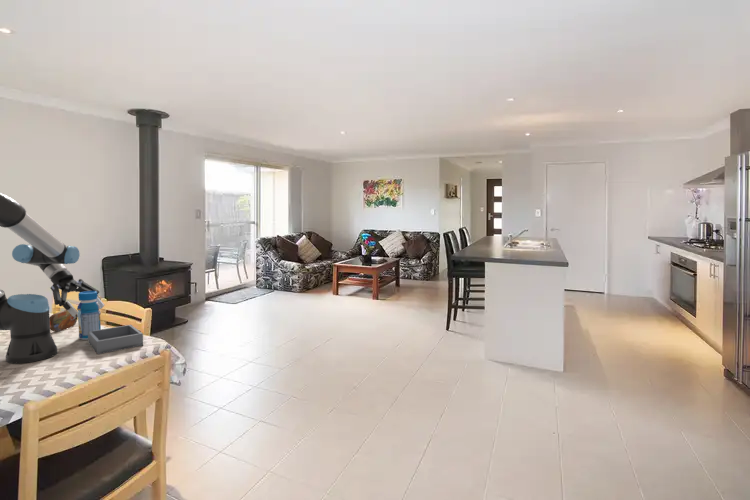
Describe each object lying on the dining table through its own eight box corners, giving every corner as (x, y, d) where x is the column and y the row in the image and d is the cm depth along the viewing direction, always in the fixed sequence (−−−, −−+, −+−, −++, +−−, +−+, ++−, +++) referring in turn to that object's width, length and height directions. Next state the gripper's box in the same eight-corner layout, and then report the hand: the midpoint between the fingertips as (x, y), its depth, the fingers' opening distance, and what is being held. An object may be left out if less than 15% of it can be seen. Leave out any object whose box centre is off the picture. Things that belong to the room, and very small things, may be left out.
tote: (143, 345, 174) (142, 333, 173) (97, 354, 163) (97, 341, 162) (131, 335, 187) (130, 324, 186) (88, 343, 176) (87, 331, 175)
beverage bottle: (90, 341, 179) (87, 294, 177) (73, 339, 181) (70, 293, 179) (106, 335, 187) (104, 290, 185) (90, 333, 189) (88, 289, 187)
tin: (54, 333, 189) (53, 315, 188) (47, 333, 189) (46, 315, 188) (78, 324, 204) (77, 307, 203) (72, 324, 204) (71, 307, 203)
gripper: (79, 276, 198) (108, 309, 197) (26, 285, 174) (58, 323, 173) (88, 265, 197) (117, 299, 195) (35, 273, 173) (68, 311, 171)
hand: (89, 310), depth 184 cm, fingers open, 13 cm apart
